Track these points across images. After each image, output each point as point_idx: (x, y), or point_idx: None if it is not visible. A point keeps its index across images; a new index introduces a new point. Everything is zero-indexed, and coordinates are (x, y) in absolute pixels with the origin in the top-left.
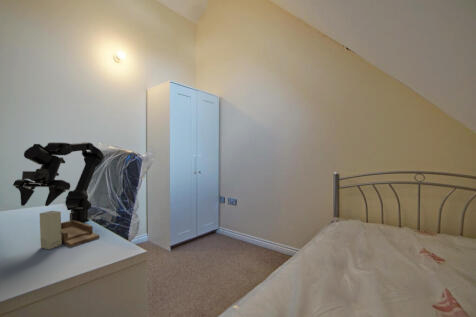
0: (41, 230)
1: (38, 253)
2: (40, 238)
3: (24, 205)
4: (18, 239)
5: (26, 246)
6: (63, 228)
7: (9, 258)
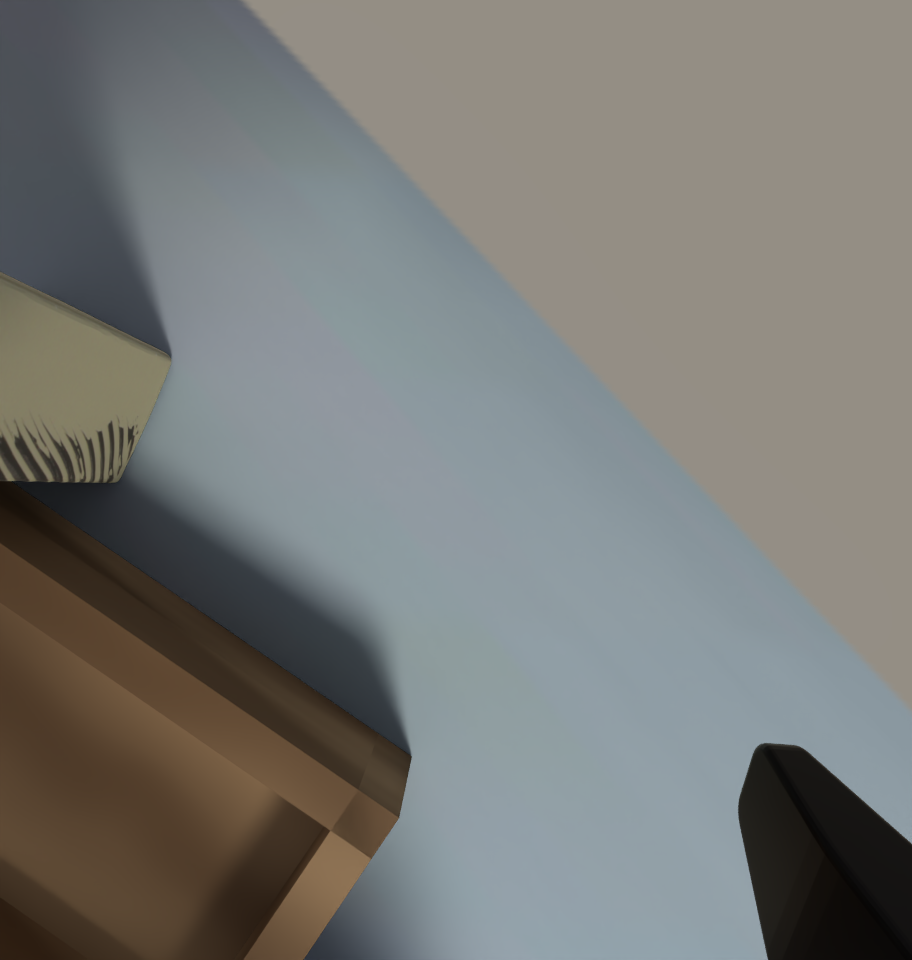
0: (11, 277)
1: (83, 211)
2: (114, 328)
3: (742, 828)
4: (674, 644)
5: (378, 411)
6: (224, 885)
7: (293, 107)
